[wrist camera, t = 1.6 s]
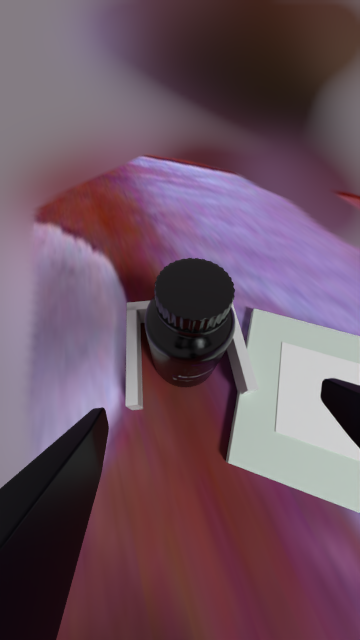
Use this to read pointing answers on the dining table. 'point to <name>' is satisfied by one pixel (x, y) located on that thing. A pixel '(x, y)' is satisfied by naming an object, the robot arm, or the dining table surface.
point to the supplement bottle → (190, 320)
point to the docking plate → (297, 409)
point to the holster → (134, 394)
